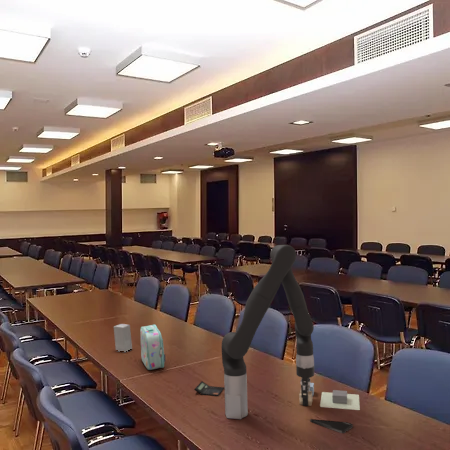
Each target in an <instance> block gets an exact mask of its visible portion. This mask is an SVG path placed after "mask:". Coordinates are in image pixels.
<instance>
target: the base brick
mask: <svg viewBox="0 0 450 450" xmlns="http://www.w3.org/2000/svg"><path fill="white" fill-rule="evenodd" d="M332 393H333V394H332V399H333V403H341V404H347V394H348V391H347V390H339V389H338V390H337V389H333V390H332Z"/></svg>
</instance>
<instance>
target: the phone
mask: <svg viewBox="0 0 450 450" xmlns="http://www.w3.org/2000/svg"><path fill="white" fill-rule="evenodd" d="M309 421H310V423H312V424H314V425H318V426H320V427H324V428H325V429H328V430H331V431H335V432H337V433H340V434H345V433H347V432H349V431H350V430H351V429H352V428H353V425H354V424H352V423H351V422H346V421H336V420H325V419H317V418H315V419H314V418H310V420H309ZM346 431H347V432H346Z"/></svg>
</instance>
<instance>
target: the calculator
mask: <svg viewBox="0 0 450 450" xmlns="http://www.w3.org/2000/svg"><path fill="white" fill-rule="evenodd" d="M193 391H195V392H196V393H199V394H200V395H201V396H209V397H210V396H211V397H219V396H220V395H221V394H222V393H223V391H225V386H224V387H222V386H210V385H208V384H207V383H206V382H204V381H203V380H201V381H200V382H199V383H198V384H197V386H196V387H195V388H194V390H193Z"/></svg>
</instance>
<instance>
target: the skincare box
mask: <svg viewBox="0 0 450 450" xmlns="http://www.w3.org/2000/svg"><path fill="white" fill-rule="evenodd" d="M113 334H114V344H115V346H114V347H115V351H116V350H118V351H117V352H120V351H124V352H123V353H127V352H129V351H128V350H130V349H132V350H133V344H132V343H133V342H132V334H131V325H130V324H125V323H119V324H117V325H114V326H113ZM126 351H127V352H126ZM130 351H131V350H130Z"/></svg>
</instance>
